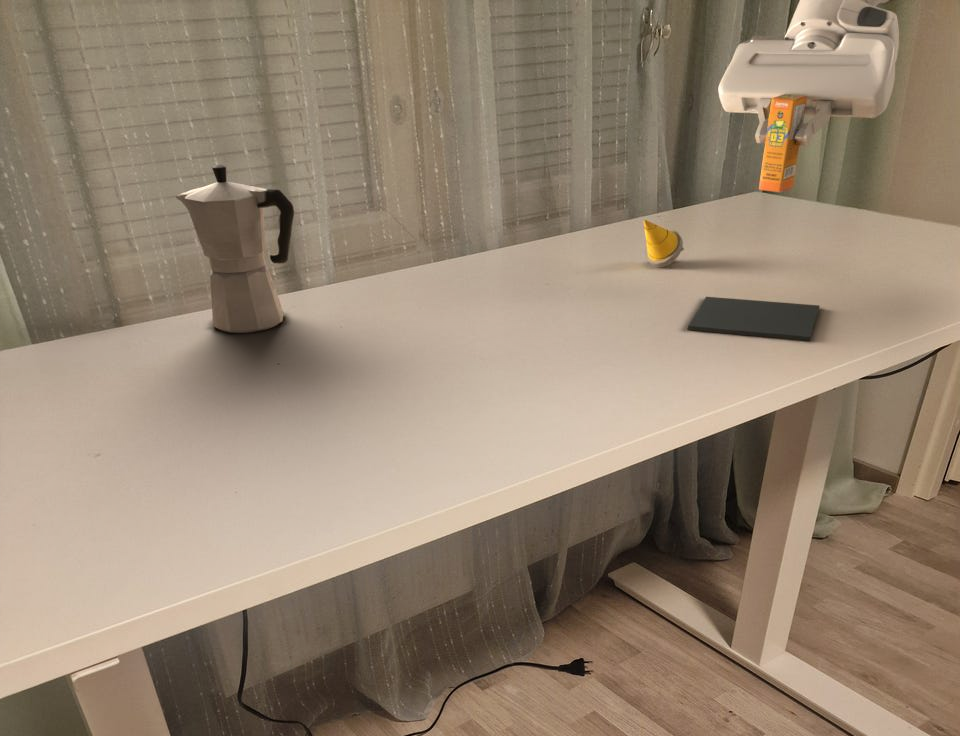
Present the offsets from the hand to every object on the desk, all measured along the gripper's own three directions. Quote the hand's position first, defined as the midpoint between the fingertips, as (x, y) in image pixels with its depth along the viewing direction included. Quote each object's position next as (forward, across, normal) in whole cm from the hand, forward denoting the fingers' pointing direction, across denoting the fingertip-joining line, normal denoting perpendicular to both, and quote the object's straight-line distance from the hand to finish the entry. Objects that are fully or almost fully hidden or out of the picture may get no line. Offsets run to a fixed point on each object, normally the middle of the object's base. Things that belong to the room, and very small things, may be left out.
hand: (781, 141), depth 104 cm
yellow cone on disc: (+10, -16, +15) cm, 24 cm away
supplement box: (+4, 0, +4) cm, 6 cm away
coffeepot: (+43, -50, -19) cm, 69 cm away
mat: (+21, +4, +3) cm, 21 cm away
